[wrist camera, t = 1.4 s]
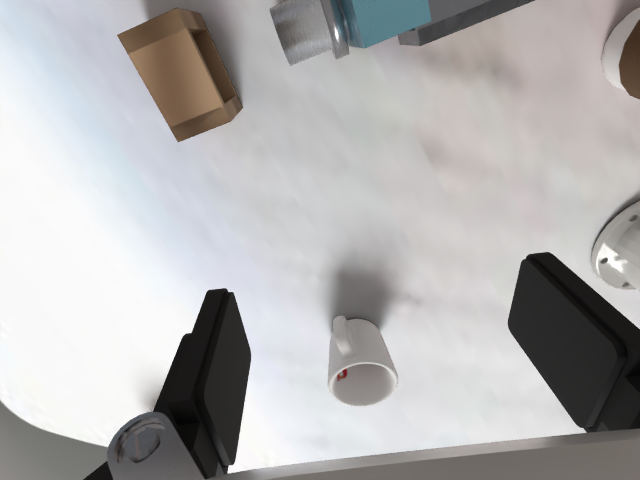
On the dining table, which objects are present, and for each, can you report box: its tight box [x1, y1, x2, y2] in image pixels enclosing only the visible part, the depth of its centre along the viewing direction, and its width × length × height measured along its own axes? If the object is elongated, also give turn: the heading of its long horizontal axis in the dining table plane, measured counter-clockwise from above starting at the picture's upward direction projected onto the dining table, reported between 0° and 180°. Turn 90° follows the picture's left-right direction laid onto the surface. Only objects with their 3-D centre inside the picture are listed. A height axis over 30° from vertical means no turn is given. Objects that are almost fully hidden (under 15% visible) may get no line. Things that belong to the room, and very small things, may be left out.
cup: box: [328, 316, 398, 407], centre depth 42 cm, size 11×8×8 cm
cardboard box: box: [117, 8, 243, 142], centre depth 27 cm, size 4×8×6 cm, turn 20°
